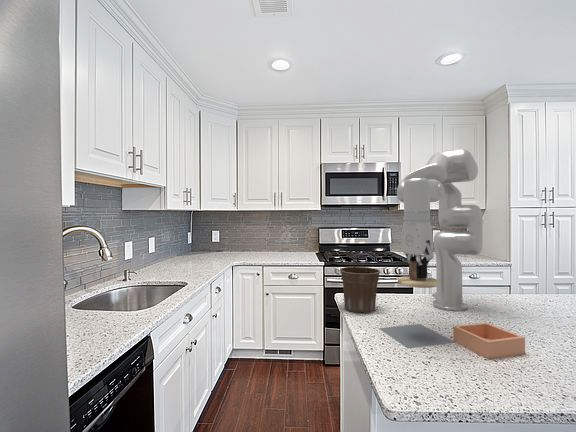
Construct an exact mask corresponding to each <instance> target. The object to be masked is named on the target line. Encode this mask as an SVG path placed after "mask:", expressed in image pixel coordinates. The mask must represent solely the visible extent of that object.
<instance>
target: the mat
mask: <svg viewBox="0 0 576 432" xmlns="http://www.w3.org/2000/svg"><path fill="white" fill-rule="evenodd" d="M378 330H380V331H381V332H383V333H384V334H386V335H388V336H389V337H390V338H392V339H394V340H395V341H397V342H398V343H399V344H400V345H402V346H404V347H405V348H406V349H412V348H413V349H414V348H416V349H417V348H423V347H429V346H439V345H448V344H454V343H456V342H454V341H453V340H452V339H450V338H449V337H446V336H445V335H443V334H441V333H439V332H437V331H435V330H433V329H431V328H429V327H427V326H425V325H423V324H421V323H415V324H407V325H405V324H404V325H396V326H386V327H378ZM456 344H457V343H456Z"/></svg>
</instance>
